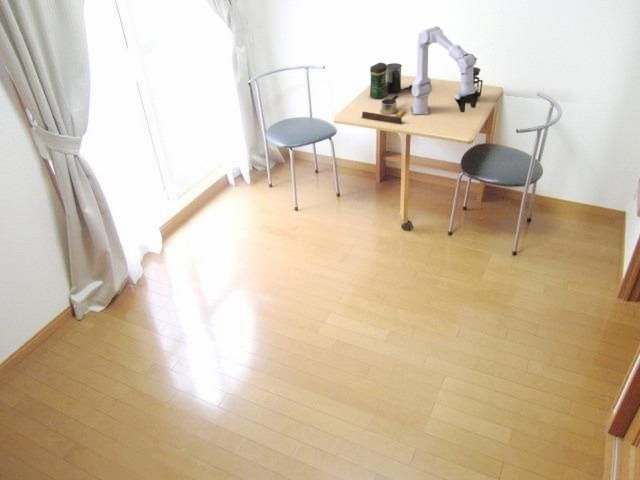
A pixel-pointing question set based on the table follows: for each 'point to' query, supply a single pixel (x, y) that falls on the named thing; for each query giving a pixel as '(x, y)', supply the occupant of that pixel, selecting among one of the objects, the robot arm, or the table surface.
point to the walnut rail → (382, 117)
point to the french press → (475, 73)
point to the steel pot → (389, 105)
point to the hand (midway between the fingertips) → (467, 109)
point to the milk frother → (394, 78)
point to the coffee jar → (378, 80)
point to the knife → (400, 113)
